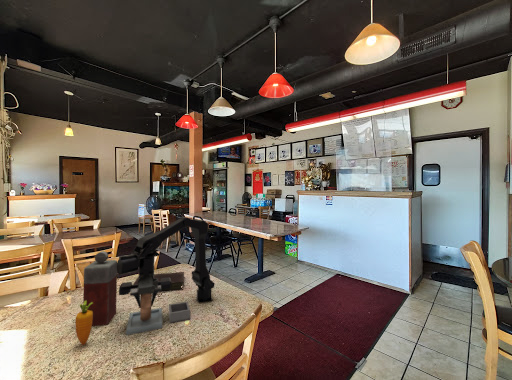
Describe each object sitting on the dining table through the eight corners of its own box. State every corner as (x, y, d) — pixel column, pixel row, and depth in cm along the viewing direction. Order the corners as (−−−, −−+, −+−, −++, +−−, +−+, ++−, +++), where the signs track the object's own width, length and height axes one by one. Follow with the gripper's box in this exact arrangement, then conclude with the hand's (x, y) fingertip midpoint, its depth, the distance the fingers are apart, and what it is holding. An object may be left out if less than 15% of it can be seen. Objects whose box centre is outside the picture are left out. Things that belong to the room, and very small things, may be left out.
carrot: (81, 340, 83) (81, 298, 83) (95, 340, 83) (96, 298, 83) (71, 350, 78) (71, 305, 78) (86, 349, 78) (87, 304, 78)
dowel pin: (151, 314, 97) (151, 290, 97) (151, 319, 93) (151, 294, 93) (140, 316, 95) (141, 291, 95) (139, 321, 92) (140, 296, 92)
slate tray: (161, 312, 102) (161, 307, 102) (162, 328, 91) (162, 322, 91) (129, 317, 97) (129, 313, 97) (126, 335, 86) (126, 329, 86)
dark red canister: (118, 310, 103) (119, 247, 103) (107, 324, 92) (109, 254, 92) (95, 312, 101) (97, 248, 101) (82, 327, 90) (83, 255, 90)
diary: (139, 282, 136) (139, 274, 136) (183, 279, 143) (184, 270, 143) (131, 296, 118) (131, 286, 118) (183, 291, 125) (183, 282, 125)
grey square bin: (187, 310, 104) (187, 301, 104) (189, 319, 97) (190, 310, 97) (168, 313, 101) (168, 304, 101) (169, 323, 94) (169, 313, 94)
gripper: (116, 278, 83) (116, 322, 83) (172, 272, 90) (171, 312, 90) (121, 268, 93) (120, 307, 93) (170, 263, 101) (170, 299, 101)
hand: (145, 306), depth 94 cm, fingers closed on dowel pin, 4 cm apart
